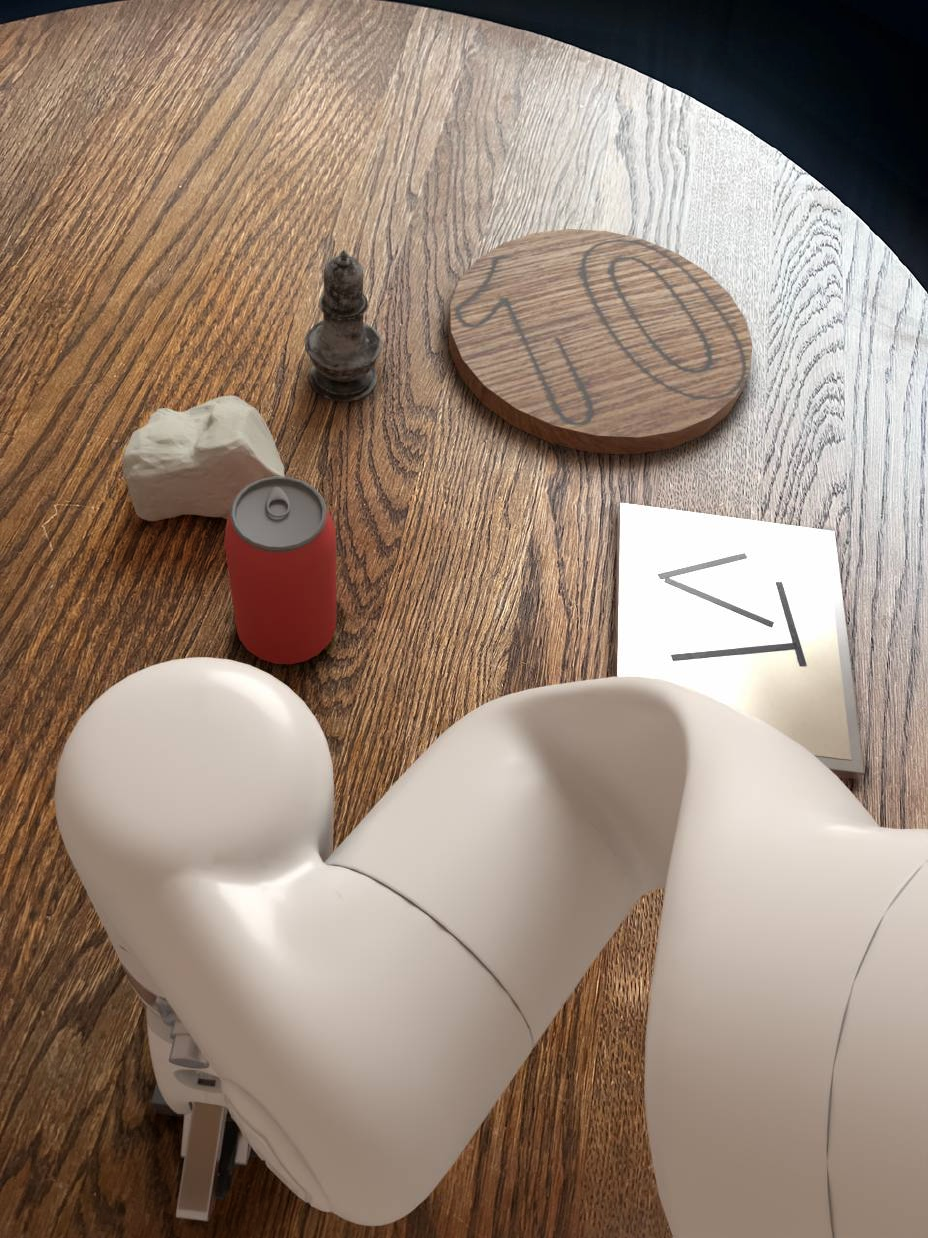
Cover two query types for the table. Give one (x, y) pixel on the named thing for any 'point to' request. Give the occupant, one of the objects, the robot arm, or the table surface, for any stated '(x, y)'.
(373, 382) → the dark chess piece
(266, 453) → the decorative stone
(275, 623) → the beer can
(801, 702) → the whiteboard
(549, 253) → the trivet
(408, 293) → the table surface
